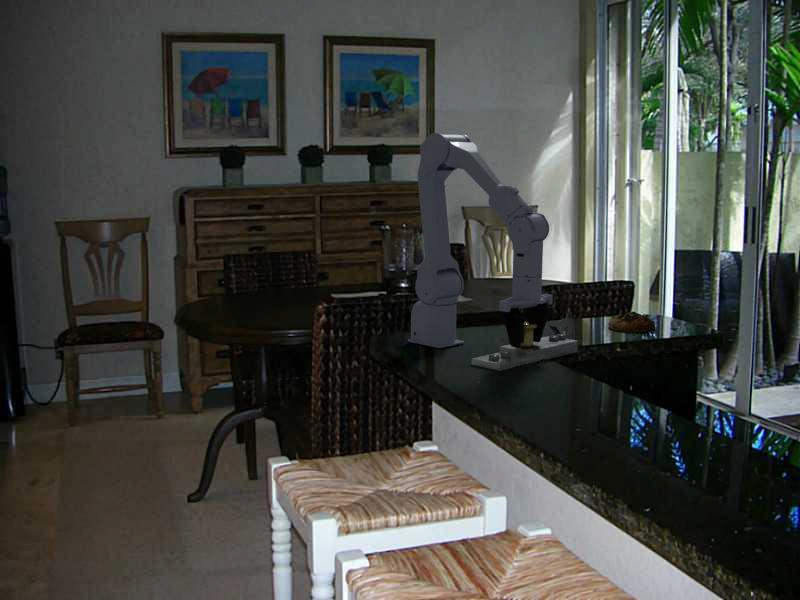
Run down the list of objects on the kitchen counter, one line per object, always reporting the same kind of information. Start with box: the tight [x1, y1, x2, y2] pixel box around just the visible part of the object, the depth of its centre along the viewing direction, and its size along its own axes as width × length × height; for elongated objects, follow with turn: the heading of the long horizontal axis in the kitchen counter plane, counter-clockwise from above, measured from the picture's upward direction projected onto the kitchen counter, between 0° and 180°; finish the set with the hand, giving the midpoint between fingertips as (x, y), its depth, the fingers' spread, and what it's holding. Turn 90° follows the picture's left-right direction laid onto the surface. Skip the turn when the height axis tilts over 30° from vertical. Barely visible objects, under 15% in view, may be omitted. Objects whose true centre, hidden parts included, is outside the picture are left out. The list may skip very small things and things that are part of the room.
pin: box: [517, 321, 537, 350], centre depth 188 cm, size 4×4×7 cm
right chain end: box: [499, 333, 579, 360], centre depth 191 cm, size 7×17×3 cm, turn 135°
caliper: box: [548, 312, 574, 340], centre depth 215 cm, size 20×1×6 cm, turn 3°
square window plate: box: [471, 351, 551, 372], centre depth 185 cm, size 7×16×2 cm, turn 135°
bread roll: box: [607, 311, 656, 334], centre depth 221 cm, size 11×11×5 cm
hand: (525, 343), depth 188 cm, fingers open, 6 cm apart
